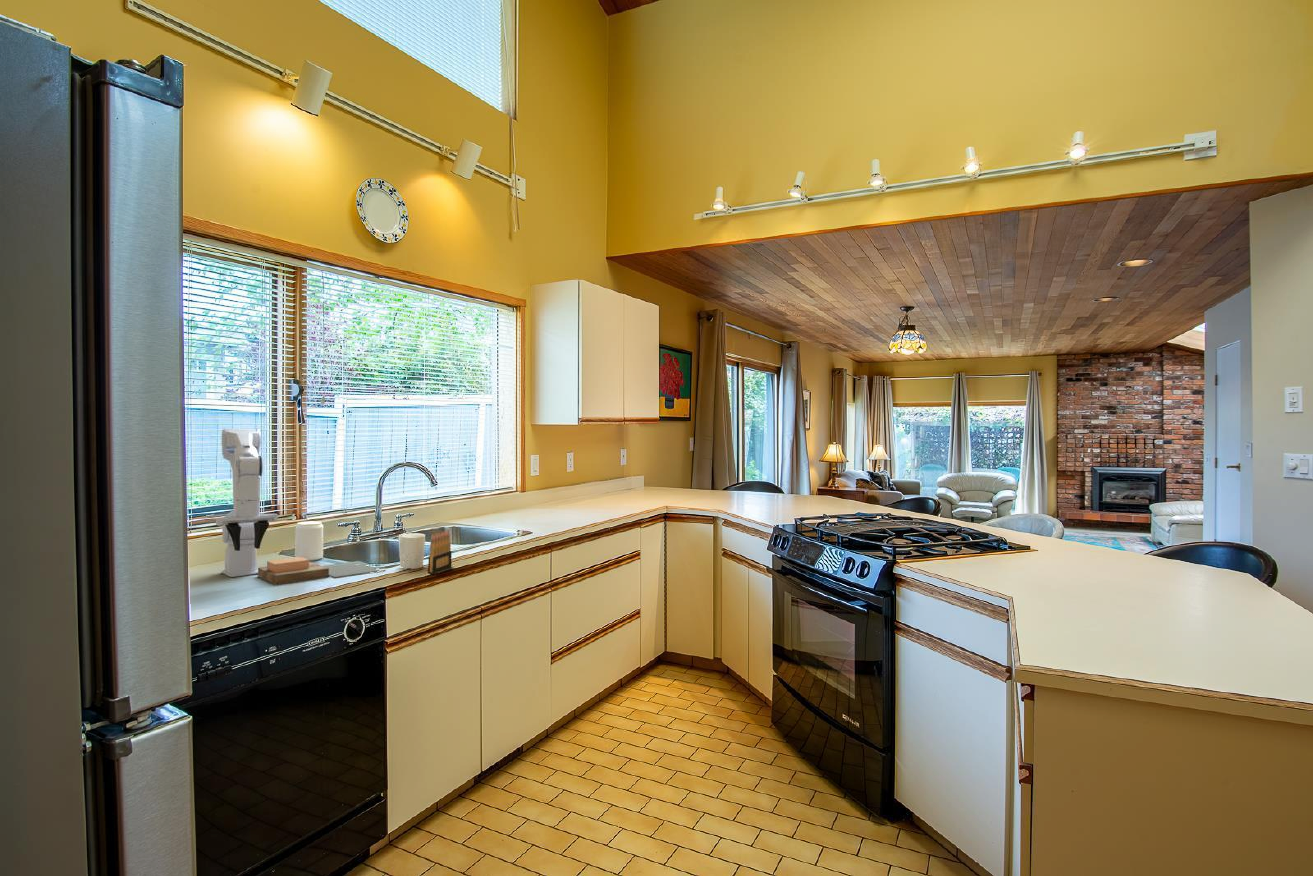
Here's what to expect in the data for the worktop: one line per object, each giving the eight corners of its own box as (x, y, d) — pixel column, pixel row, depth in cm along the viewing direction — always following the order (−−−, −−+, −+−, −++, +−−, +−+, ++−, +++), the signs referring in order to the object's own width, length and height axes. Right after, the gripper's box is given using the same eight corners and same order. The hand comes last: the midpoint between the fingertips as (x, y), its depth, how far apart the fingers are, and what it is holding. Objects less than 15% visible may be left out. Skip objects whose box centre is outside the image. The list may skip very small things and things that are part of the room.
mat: (309, 568, 201) (309, 567, 201) (358, 562, 212) (358, 560, 212) (334, 578, 189) (334, 577, 189) (385, 570, 200) (385, 569, 200)
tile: (266, 569, 187) (267, 561, 187) (300, 565, 194) (300, 556, 194) (274, 572, 183) (274, 564, 183) (308, 568, 190) (308, 559, 190)
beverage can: (303, 562, 209) (304, 525, 209) (289, 559, 214) (290, 522, 213) (327, 559, 216) (328, 522, 216) (314, 556, 220) (315, 520, 220)
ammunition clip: (433, 573, 197) (434, 534, 197) (427, 573, 198) (428, 533, 198) (451, 566, 208) (452, 529, 208) (446, 566, 208) (447, 528, 208)
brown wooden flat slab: (258, 576, 189) (258, 567, 189) (309, 569, 200) (309, 561, 200) (275, 584, 180) (276, 575, 180) (328, 576, 190) (328, 568, 190)
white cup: (398, 570, 201) (399, 537, 201) (397, 565, 208) (398, 534, 208) (425, 568, 205) (426, 536, 204) (423, 563, 212) (424, 532, 212)
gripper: (222, 503, 172) (221, 554, 173) (282, 499, 183) (281, 548, 183) (213, 500, 177) (213, 550, 177) (272, 497, 188) (272, 544, 188)
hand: (247, 549), depth 181 cm, fingers open, 4 cm apart
